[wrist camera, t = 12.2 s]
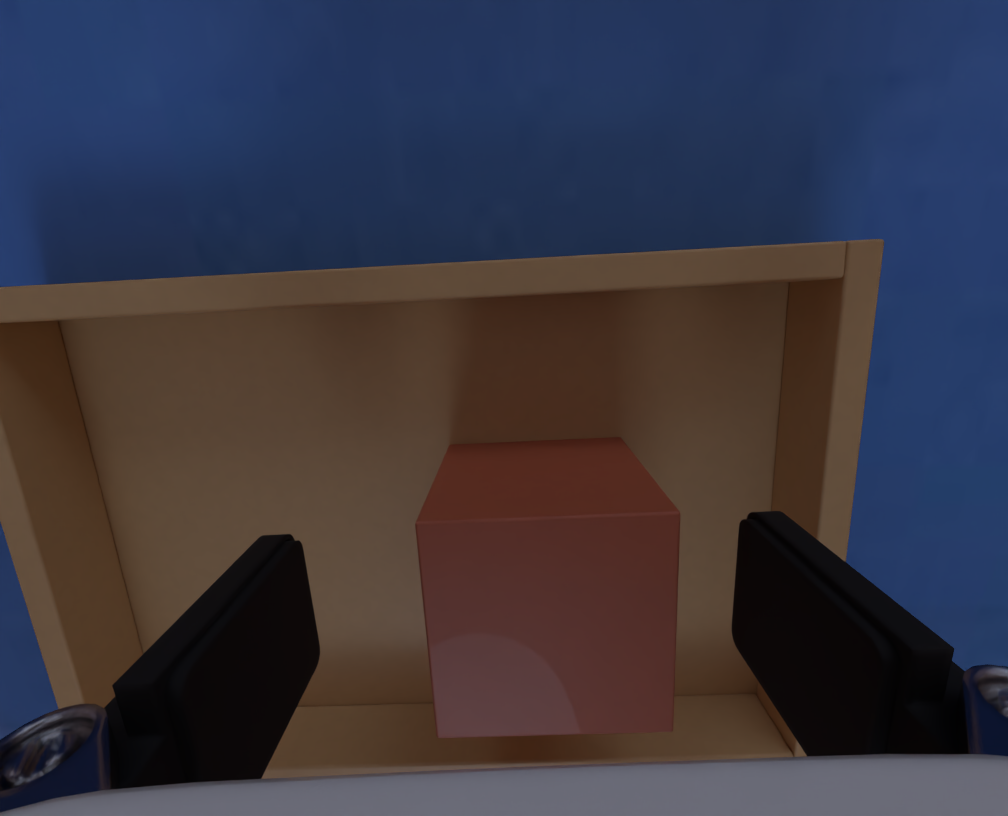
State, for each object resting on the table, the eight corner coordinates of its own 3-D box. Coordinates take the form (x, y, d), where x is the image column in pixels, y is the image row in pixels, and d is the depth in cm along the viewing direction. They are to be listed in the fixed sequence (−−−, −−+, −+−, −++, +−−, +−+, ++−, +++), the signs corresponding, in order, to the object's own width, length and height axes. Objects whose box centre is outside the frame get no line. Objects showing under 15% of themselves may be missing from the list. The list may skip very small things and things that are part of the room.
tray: (153, 714, 17) (84, 794, 14) (44, 292, 14) (-73, 290, 11) (769, 697, 16) (820, 776, 14) (807, 251, 13) (886, 238, 10)
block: (461, 596, 15) (435, 739, 10) (448, 444, 14) (414, 522, 9) (620, 590, 15) (674, 734, 10) (621, 436, 14) (682, 512, 9)
